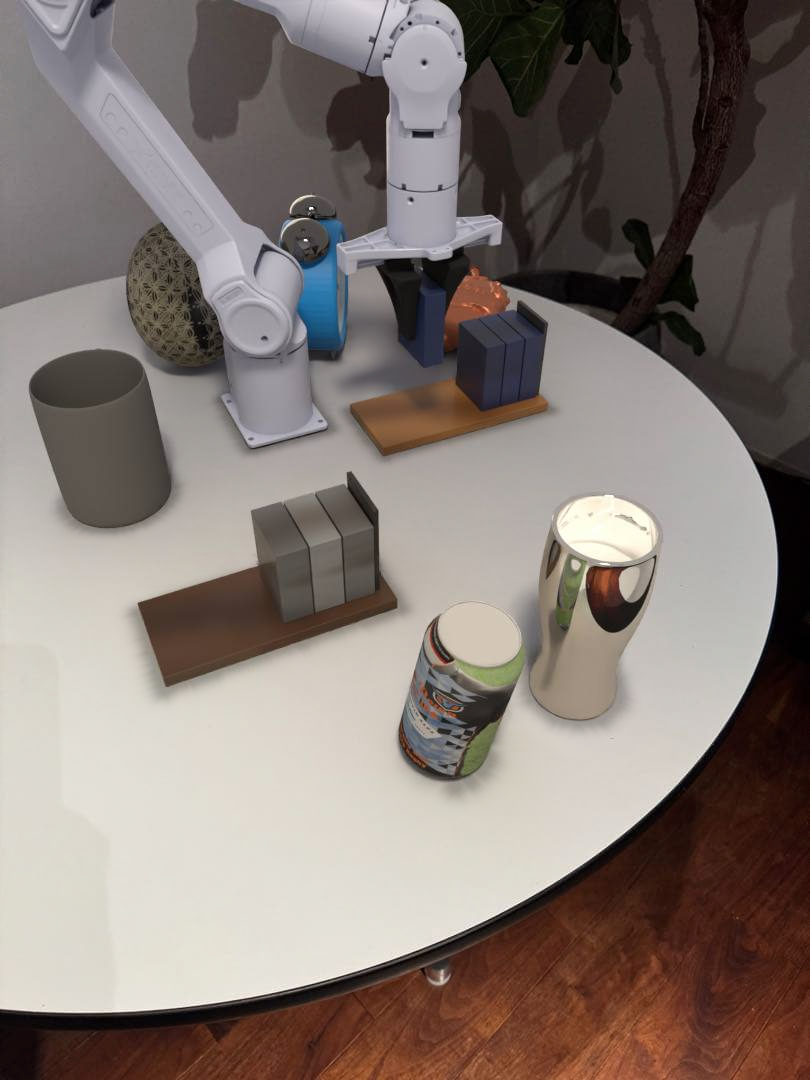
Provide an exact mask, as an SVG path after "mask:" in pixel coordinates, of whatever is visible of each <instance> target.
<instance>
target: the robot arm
mask: <svg viewBox="0 0 810 1080" xmlns="http://www.w3.org/2000/svg"><path fill="white" fill-rule="evenodd" d="M14 1H15V6H16V8H17V10H18V14H19V17H20V21H21V24H22V28H23V31H24V33H25V37H26V40H27V43H28V46H29V50H30V53H31V56H32V60H33V62H34V64H35V66H36V67H37V69H38V70H39V72H40V74H41V75H42V76H43V78H44V80H46V81H47V82H48V84H49V86H51V87H52V89H53V90H54V91H55V92H56V93H57V95H58V96H59V97H60V98H61V100H62V101H63V102H64V103H65V105H66V106H67V107H68V108H69V110H70V111H71V112H72V114H74V116H75V117H76V118H77V119H78V120H79V122H80V123H81V124H82V126H83V127H84V128H85V129H86V130H87V132H88V133H89V134H90V135H91V137H92V138H93V139H94V140H95V142H96V143H97V144H98V145H99V147H100V148H101V149H102V150H103V151H104V153H105V154H106V155H107V156H108V158H109V159H110V160H111V161H112V162H113V164H114V165H115V166H116V168H117V169H118V170H119V171H120V172H121V174H122V175H123V176H124V177H125V179H126V180H127V181H128V182H129V183H130V185H131V186H132V187H133V189H134V190H135V191H136V192H137V194H139V196H140V197H141V198H142V199H143V201H144V202H145V203H146V204H147V206H148V207H149V208H150V209H151V210H152V212H153V213H154V214H155V215H156V217H157V218H158V219H159V221H160V222H162V223H163V224H164V225H165V226H166V228H167V229H168V230H169V231H170V232H171V234H172V235H173V236H174V237H175V239H176V240H177V241H178V242H179V244H180V245H181V246H182V247H183V248H184V250H185V251H186V252H187V253H188V255H189V256H190V257H191V258H192V260H193V261H194V262H195V263H196V266H197V269H198V274H199V278H200V282H201V287H202V291H203V295H204V298H205V300H206V301H207V302H208V304H209V305H210V306H211V307H212V309H213V310H214V312H215V313H216V315H217V318H218V321H219V326H220V330H221V332H222V335H223V336H224V340H223V347H224V354H225V355H224V360H225V368H226V374H227V379H228V381H227V382H228V387H229V392H227V393H224V394H223V393H222V395H221V396H220V398H221V402H222V403H223V405H224V408H225V409H226V411H227V412H228V414H229V416H230V418H231V419H232V421H233V423H234V425H235V426H236V428H237V430H238V432H239V433H240V435H241V436H242V438H243V440H244V441H245V443H246V445H247V447H248V448H250V449H256V448H259V447H263V446H267V445H270V444H271V445H272V444H274V443H278V442H282V441H287V440H290V439H293V438H298V437H302V436H305V435H309V434H313V433H317V432H320V431H324V430H326V429H328V427H329V424H328V422H327V420H326V419H325V417H324V416H323V415H322V412H321V411H320V410H319V409H318V408H317V406H316V405H315V403H314V402H313V398H312V397H313V396H312V385H311V371H310V358H309V349H308V343H307V329H306V326H305V325H304V323H303V322H302V320H301V318H300V317H299V314H298V312H297V307H298V304H299V300H300V298H301V297H302V294H303V291H304V287H305V278H304V273H303V270H302V268H301V266H300V264H299V263H298V262H297V260H296V259H295V258H294V257H293V256H292V255H290V254H289V253H288V252H286V251H284V250H282V249H280V248H278V247H279V246H278V245H275V244H274V243H273V242H272V241H271V240H270V239H269V238H268V236H267V235H266V234H265V232H264V231H263V230H262V229H261V228H259V227H257V226H254V225H252V224H249V223H246V222H245V221H243V220H242V219H241V217H240V216H239V215H238V213H237V212H236V211H235V209H234V208H233V207H232V205H231V204H230V202H229V201H228V200H227V199H226V198H225V196H224V195H223V192H221V191H220V190H219V188H218V187H217V185H216V184H215V183H214V181H213V180H212V179H211V177H210V176H209V175H208V173H207V172H206V171H205V169H204V168H203V167H202V165H201V164H200V163H199V161H198V160H197V159H196V157H195V156H194V155H193V153H192V152H191V151H190V150H189V148H188V147H187V145H186V143H184V142H183V140H182V139H181V138H180V136H179V135H178V133H177V132H176V131H175V130H174V128H173V127H172V126H171V124H170V123H169V122H168V120H167V119H166V118H165V116H164V114H163V113H162V111H160V109H159V107H157V105H156V104H155V103H154V102H153V100H152V99H151V97H150V96H149V95H148V93H147V92H146V91H145V90H144V88H143V87H142V85H141V84H140V83H139V81H138V80H137V79H136V78H135V76H134V75H133V73H132V72H131V71H130V69H129V68H128V67H127V66H126V64H125V63H124V61H123V60H122V59H121V58H120V56H119V55H118V54H117V52H116V51H115V49H114V47H113V43H112V42H113V33H114V32H113V30H114V19H115V18H114V17H115V8H116V0H14ZM232 1H233V2H236V3H238V4H241V5H244V6H247V7H250V8H252V9H255V10H258V11H261V12H263V13H266V14H269V15H271V16H274V17H275V18H276V19H277V21H278V22H279V23H280V25H281V27H282V29H283V31H284V34H285V36H286V37H287V40H288V41H289V42H290V44H291V45H294V46H297V47H300V48H301V49H304V50H306V51H309V52H311V53H313V54H316V55H319V56H321V57H323V58H325V59H328V60H330V61H333V62H335V63H336V64H337V63H338V64H340V65H342V66H345V67H347V68H350V69H352V70H355V71H356V72H359V73H362V74H365V75H366V76H369V77H372V78H373V77H383V78H384V80H385V81H384V82H385V83H386V85H387V88H388V89H389V113H388V115H387V117H386V119H385V120H386V121H385V123H386V126H385V127H386V128H385V129H386V130H385V131H386V135H385V136H386V226H383V227H381V228H379V229H376V230H375V231H374V230H373V231H371V232H369V233H367V234H364V235H362V236H359V237H357V238H354V239H351V240H348V241H347V240H346V242H343V243H339V244H336V248H337V266H338V267H339V268H340V270H341V271H342V272H344V273H345V275H348V276H351V275H356V274H358V273H359V271H358V270H361V269H362V270H363V269H367V268H371V267H375V269H376V270H377V272H378V274H379V276H380V277H381V281H382V282H383V284H384V287H385V289H386V291H387V293H388V295H389V298H390V301H391V305H392V307H393V311H394V315H395V319H396V323H397V331H398V330H399V332H400V333H401V334H402V336H403V337H404V338H405V339H406V340H407V341H411V340H415V335H416V310H417V301H418V295H419V290H420V286H421V283H422V280H423V278H422V277H421V276H420V275H419V274H418V273H417V272H416V271H415V270H414V267H415V263H412V259H420V261H421V269H422V270H423V271H424V272H425V273H426V274H427V275H428V276H429V277H430V278H431V279H432V280H433V281H434V282H436V283H437V284H438V285H439V286H440V287H441V288H442V289H443V290H444V291H445V292H446V304H445V317H446V314H447V311H448V308H449V306H450V303H451V301H452V298H453V296H454V294H455V292H456V290H457V289H458V287H459V285H460V284H461V282H462V281H463V279H464V278H465V277H467V275H468V274H469V270H470V268H471V258H469V257H468V256H467V255H466V254H465V248H470V247H474V246H475V247H476V246H480V245H481V246H482V245H485V244H487V245H488V246H490V247H494V246H498V245H501V244H502V236H503V235H502V234H503V224H504V223H503V222H502V221H500V220H499V219H498V218H496V217H495V216H494V215H492V214H487V215H479V216H478V215H477V216H458V217H457V215H458V214H457V213H458V212H457V209H458V191H459V173H460V152H461V133H462V132H461V131H462V130H461V129H462V120H461V115H460V114H459V110H460V108H461V102H462V94H461V90H460V87H462V84H463V82H464V80H465V77H466V73H467V66H468V63H467V62H466V55H465V54H466V53H465V41H464V33H463V29H462V25H461V23H460V21H459V19H458V18H457V17H458V16H456V14H455V13H454V12H453V10H452V9H451V8H450V7H449V6H447V5H446V4H445V3H443V2H441V1H440V0H232Z"/></svg>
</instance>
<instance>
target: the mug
mask: <svg viewBox="0 0 810 1080" xmlns="http://www.w3.org/2000/svg"><path fill="white" fill-rule="evenodd" d="M28 393H29V399H30V402H31V406H32V409H33V413H34V416H35V419H36V423H37V426H38V429H39V432H40V435H41V437H42V441H43V444H44V447H45V450H46V453H47V457H48V460H49V462H50V465H51V467H52V468H51V469H52V472H53V474H54V477H55V480H56V483H57V485H58V488H59V492H60V494H61V496H62V499H63V502H64V504H65V506H66V508H67V510H68V511H69V513H70V514H71V515H72V516H73V517H74V518H75V519H76V520H78V521H79V522H80V523H83V524H85V525H88V526H92V527H98V528H99V527H100V528H118V527H123V526H129V525H132V524H135V523H137V522H141V521H143V520H145V519H147V518H149V517H151V516H152V515H153V514H155V513H156V512H157V511H159V509H161V508H162V507H163V506H164V505H165V503H166V501H167V499H168V498H169V495H170V490H171V481H170V474H169V473H170V472H169V466H168V461H167V457H166V452H165V448H164V442H163V437H162V433H161V429H160V424H159V420H158V416H157V411H156V407H155V406H156V405H155V403H154V399H153V394H152V389H151V386H150V381H149V379H148V375H147V372H146V369H145V366H144V364H142V362H141V361H140V360H139V359H138V358H137V357H135V356H134V355H132V354H130V353H127V352H125V351H120V350H115V349H109V348H107V349H106V348H105V349H103V348H95V349H84V350H79V351H74V352H71V353H67V354H63V355H61V356H58V357H56V358H53V359H52V360H50V361H48V362H46V363H44V364H43V365H41V366H40V367H39V368H38V369H36V371H35V372H34V373H33V374H32V375H31V377H30V379H29V382H28Z"/></svg>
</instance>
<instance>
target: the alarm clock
mask: <svg viewBox="0 0 810 1080" xmlns="http://www.w3.org/2000/svg"><path fill="white" fill-rule="evenodd" d="M315 193H316V192H311V195H310V194H309V195H303V196H300V197H298V198H297V199H296V200H294V201H293V202H292V204H291V205H290V208H289V212H288V213H289V214H288V215H289V218H291V219H287V220H285V221H284V223H283V225H282V227H281V230H280V234H279V241H278V246H277V247H278V248H280V249H282V250H284V251H286V252H288V253H289V254H290V255H292V256H293V257H294V258H295V259H296V260H297V262H298V263H299V264H300V266H301V268H302V270H303V273H304V278H305V287H304V291H303V294H302V297H301V298H300V300H299V304H298V307H297V312H298V314H299V317H300V318H301V320H302V322H303V323H304V325H305V326H306V329H307V343H308V350H314V351H320V350H321V351H330V352H331V358H332V360H335V359H336V352H337V351H340V350H341V349H342V348H343V347H344V344H345V341H346V334H347V326H348V325H347V324H348V312H349V311H348V309H349V275H345V273H344V272H342V271H341V270H340V268H339V267H338V266H337V248H336V244H339V243H343V242H347V235H346V229H345V226H344V224H343V223H342V222H341V221H340V220H337V218H338V216H337V209H336V206H335V205H334V204H333V203H332V201H330V200H329V199H328V198H326V197H324V196H321V195H316V194H315Z"/></svg>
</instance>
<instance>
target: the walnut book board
mask: <svg viewBox="0 0 810 1080" xmlns="http://www.w3.org/2000/svg"><path fill="white" fill-rule="evenodd" d="M250 515H251V523H252V529H253V535H254V536H253V537H254V543H255V550H256V558H257V563H258V564H257V565H255V566H252V567H248V568H246V569H242V570H239V571H236V572H232V573H230V574H226V575H222V576H220V577H216V578H213V579H210V580H207V581H203V582H200V583H196V584H194V585H191V586H187V587H183V588H181V589H177V590H174V591H171V592H168V593H164V594H162V595H161V594H160V595H158V596H155V597H152V598H148V599H145V600H141V601H138V602H137V607H138V611H139V613H140V617H141V620H142V622H143V626H144V628H145V631H146V634H147V637H148V640H149V643H150V646H151V649H152V651H153V655H154V657H155V660H156V663H157V666H158V669H159V672H160V675H161V678H162V681H163V683H164V687H165V688H167V687H171V686H173V685H176V684H178V683H179V684H180V683H181V682H185V681H187V680H190V679H193V678H196V677H200V676H202V675H205V674H208V673H211V672H214V671H217V670H220V669H222V668H226V667H228V666H231V665H234V664H236V663H240V662H243V661H246V660H250V659H251V658H255V657H258V656H260V655H263V654H267V653H269V652H273V651H275V650H278V649H281V648H283V647H286V646H290V645H292V644H295V643H298V642H301V641H304V640H308V639H310V638H312V637H316V636H319V635H322V634H325V633H328V632H330V631H333V630H336V629H339V628H342V627H345V626H347V625H350V624H351V625H352V624H354V623H356V622H359V621H362V620H365V619H369V618H371V617H374V616H377V615H380V614H383V613H386V612H389V611H392V610H394V609H397V608H398V597H397V596H396V594H395V593H394V592H393V590H392V588H391V587H390V585H389V584H388V582H387V580H386V579H385V578H384V575H383V574H382V573H381V571H380V516H379V515H380V513H379V509H378V507H377V506H376V504H375V503H374V501H373V500H372V499H371V497H370V496H369V494H368V492H366V490H365V489H364V487H363V486H362V484H361V482H360V481H359V480H358V479H357V477H356V476H355V475H354V473H353V472H352V470H349V471H347V472H346V484H345V483H341V484H337V485H333V486H330V487H327V488H323V489H321V490H320V489H319V490H317V491H315V492H310V493H307V494H304V495H299V496H297V497H296V496H295V497H293V498H289V499H285V500H283V501H278V502H275V503H270V504H268V505H264V506H261V507H257V508H254V509H251V510H250Z"/></svg>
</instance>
